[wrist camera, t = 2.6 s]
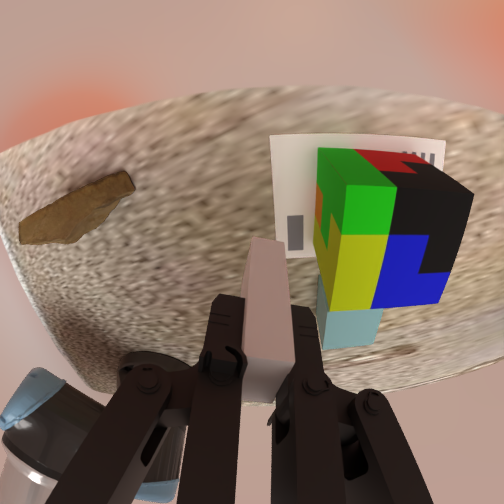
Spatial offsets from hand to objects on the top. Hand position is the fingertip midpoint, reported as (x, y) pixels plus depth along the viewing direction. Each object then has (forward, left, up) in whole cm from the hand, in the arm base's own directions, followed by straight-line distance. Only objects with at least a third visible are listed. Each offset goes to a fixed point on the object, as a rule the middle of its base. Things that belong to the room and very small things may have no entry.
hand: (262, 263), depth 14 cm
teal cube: (+12, -12, -15) cm, 23 cm away
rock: (-17, -6, -15) cm, 23 cm away
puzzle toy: (+10, 0, -14) cm, 18 cm away
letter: (+10, 0, -14) cm, 18 cm away
